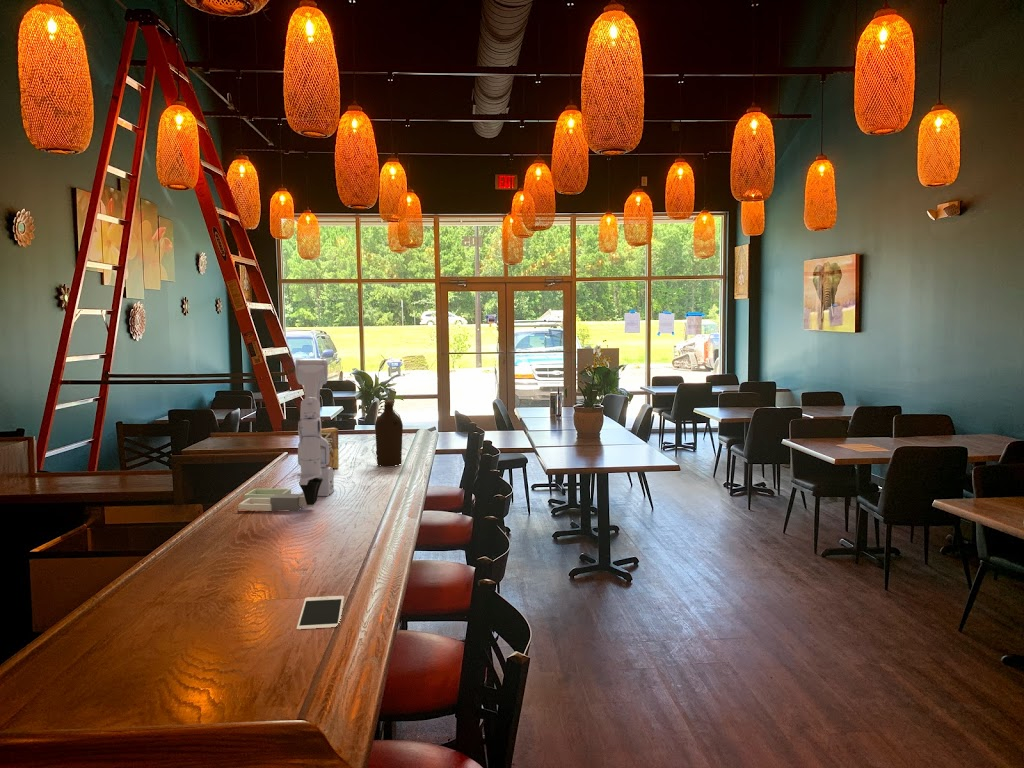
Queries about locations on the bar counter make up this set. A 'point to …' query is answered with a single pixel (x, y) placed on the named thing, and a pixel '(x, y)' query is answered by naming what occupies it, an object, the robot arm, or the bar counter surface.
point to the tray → (265, 493)
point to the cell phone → (321, 612)
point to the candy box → (332, 446)
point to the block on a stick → (288, 502)
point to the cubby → (256, 504)
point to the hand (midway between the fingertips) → (311, 503)
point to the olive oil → (388, 437)
